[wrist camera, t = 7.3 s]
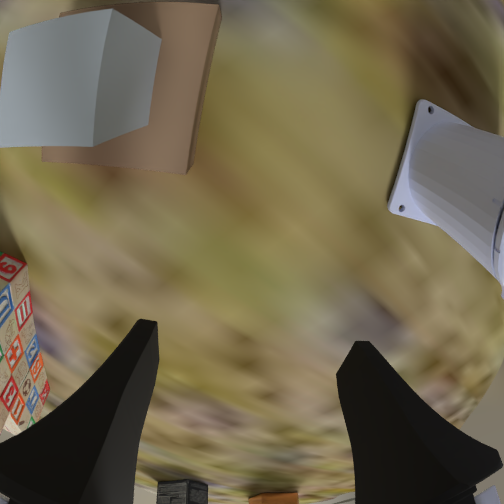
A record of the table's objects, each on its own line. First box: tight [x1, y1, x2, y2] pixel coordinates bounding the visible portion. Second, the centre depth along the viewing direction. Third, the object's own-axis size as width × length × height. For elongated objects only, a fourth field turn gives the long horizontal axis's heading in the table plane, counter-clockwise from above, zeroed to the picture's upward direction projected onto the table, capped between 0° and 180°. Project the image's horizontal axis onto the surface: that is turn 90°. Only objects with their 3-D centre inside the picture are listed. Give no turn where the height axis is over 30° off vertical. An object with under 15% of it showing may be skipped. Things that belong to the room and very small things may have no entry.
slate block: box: [0, 9, 162, 147], centre depth 9 cm, size 4×4×6 cm
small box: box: [156, 479, 208, 504], centre depth 43 cm, size 11×6×10 cm, turn 127°
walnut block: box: [42, 2, 222, 175], centre depth 13 cm, size 9×9×3 cm
